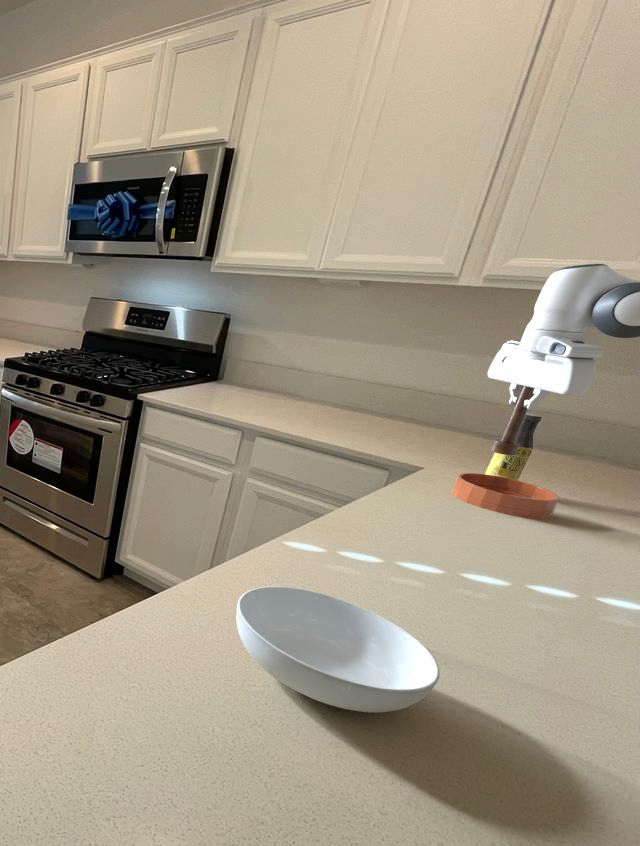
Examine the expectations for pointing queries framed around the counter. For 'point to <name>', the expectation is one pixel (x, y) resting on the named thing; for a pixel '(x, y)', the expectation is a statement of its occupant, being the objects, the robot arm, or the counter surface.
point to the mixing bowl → (505, 495)
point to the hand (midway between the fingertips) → (522, 407)
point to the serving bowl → (334, 650)
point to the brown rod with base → (513, 425)
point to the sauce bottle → (515, 463)
